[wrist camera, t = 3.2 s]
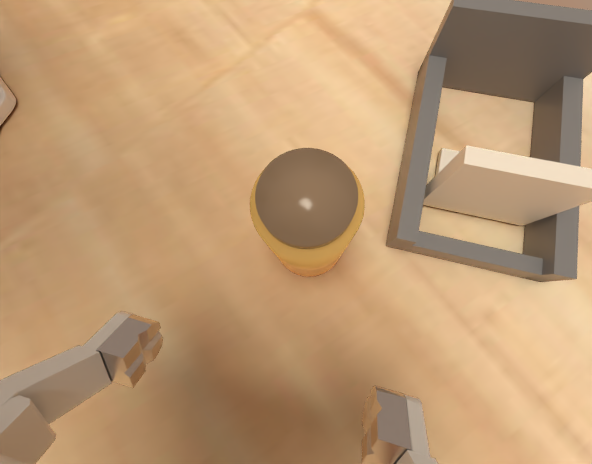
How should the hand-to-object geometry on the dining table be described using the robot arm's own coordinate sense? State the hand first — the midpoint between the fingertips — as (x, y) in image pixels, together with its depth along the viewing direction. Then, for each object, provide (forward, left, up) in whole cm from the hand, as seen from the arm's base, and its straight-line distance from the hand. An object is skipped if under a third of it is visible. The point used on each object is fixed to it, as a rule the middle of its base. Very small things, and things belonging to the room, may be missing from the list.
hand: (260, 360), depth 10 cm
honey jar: (-5, +5, -12) cm, 14 cm away
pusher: (-2, +19, -12) cm, 22 cm away
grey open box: (-3, +20, -12) cm, 24 cm away
